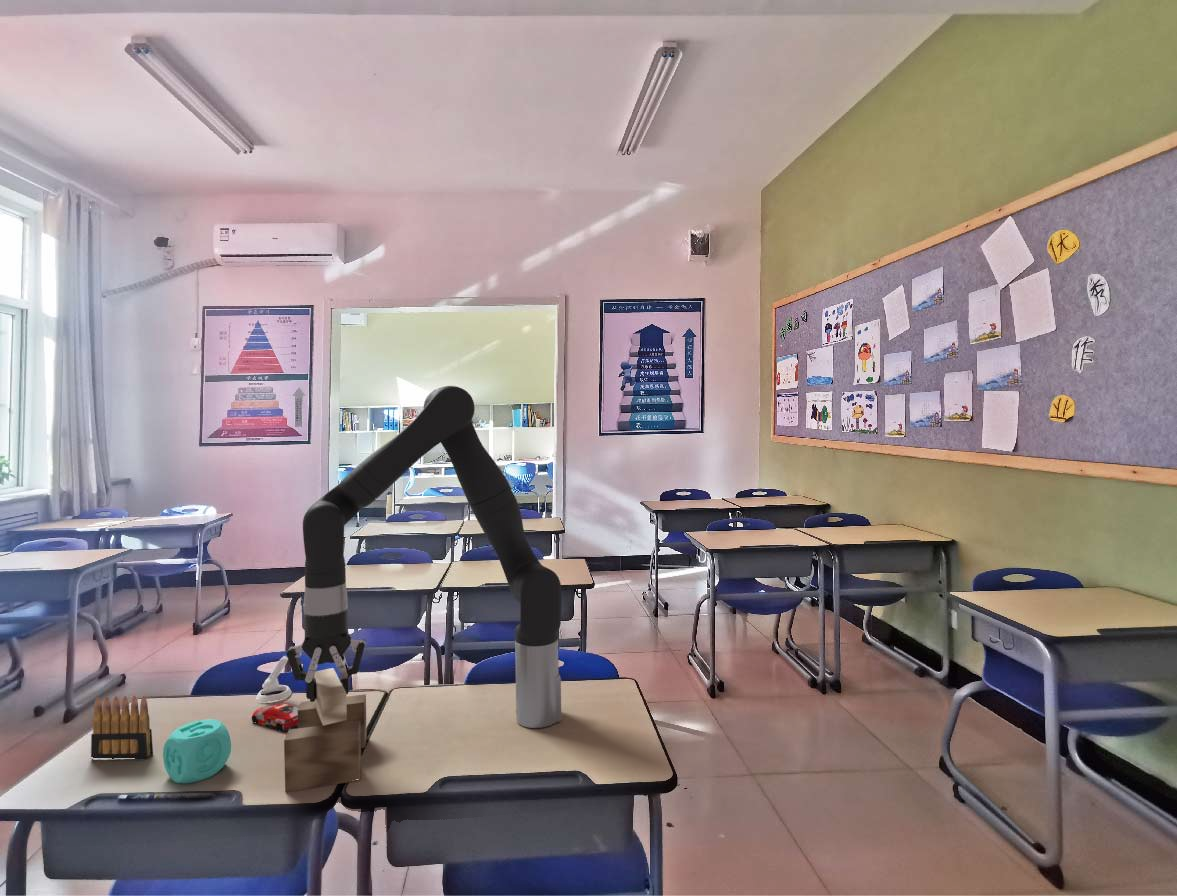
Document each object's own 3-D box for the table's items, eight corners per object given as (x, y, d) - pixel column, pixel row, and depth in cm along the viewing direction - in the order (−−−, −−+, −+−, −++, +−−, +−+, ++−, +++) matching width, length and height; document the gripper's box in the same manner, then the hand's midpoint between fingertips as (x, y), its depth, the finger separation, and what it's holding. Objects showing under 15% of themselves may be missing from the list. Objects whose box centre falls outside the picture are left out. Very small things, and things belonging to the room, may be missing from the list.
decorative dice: (208, 756, 117) (207, 715, 117) (232, 767, 113) (231, 724, 113) (162, 776, 110) (161, 732, 110) (186, 788, 106) (185, 743, 106)
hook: (301, 681, 140) (273, 667, 138) (275, 720, 141) (247, 706, 140) (312, 663, 147) (286, 649, 146) (287, 700, 149) (260, 687, 147)
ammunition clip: (90, 760, 116) (88, 698, 116) (98, 755, 118) (96, 694, 118) (146, 759, 116) (145, 697, 116) (153, 754, 118) (152, 693, 118)
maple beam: (333, 692, 121) (333, 667, 121) (346, 719, 109) (346, 692, 109) (311, 697, 119) (311, 672, 119) (322, 725, 107) (322, 697, 107)
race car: (246, 723, 131) (246, 704, 131) (270, 713, 136) (269, 695, 136) (286, 735, 125) (286, 716, 125) (309, 724, 130) (309, 706, 130)
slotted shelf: (366, 738, 123) (365, 694, 123) (359, 780, 108) (358, 730, 108) (302, 746, 120) (301, 701, 120) (285, 791, 105) (284, 740, 104)
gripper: (368, 599, 119) (370, 686, 119) (288, 606, 115) (290, 695, 115) (364, 610, 112) (366, 701, 112) (279, 617, 108) (282, 712, 108)
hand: (328, 697), depth 114 cm, fingers closed on maple beam, 4 cm apart
